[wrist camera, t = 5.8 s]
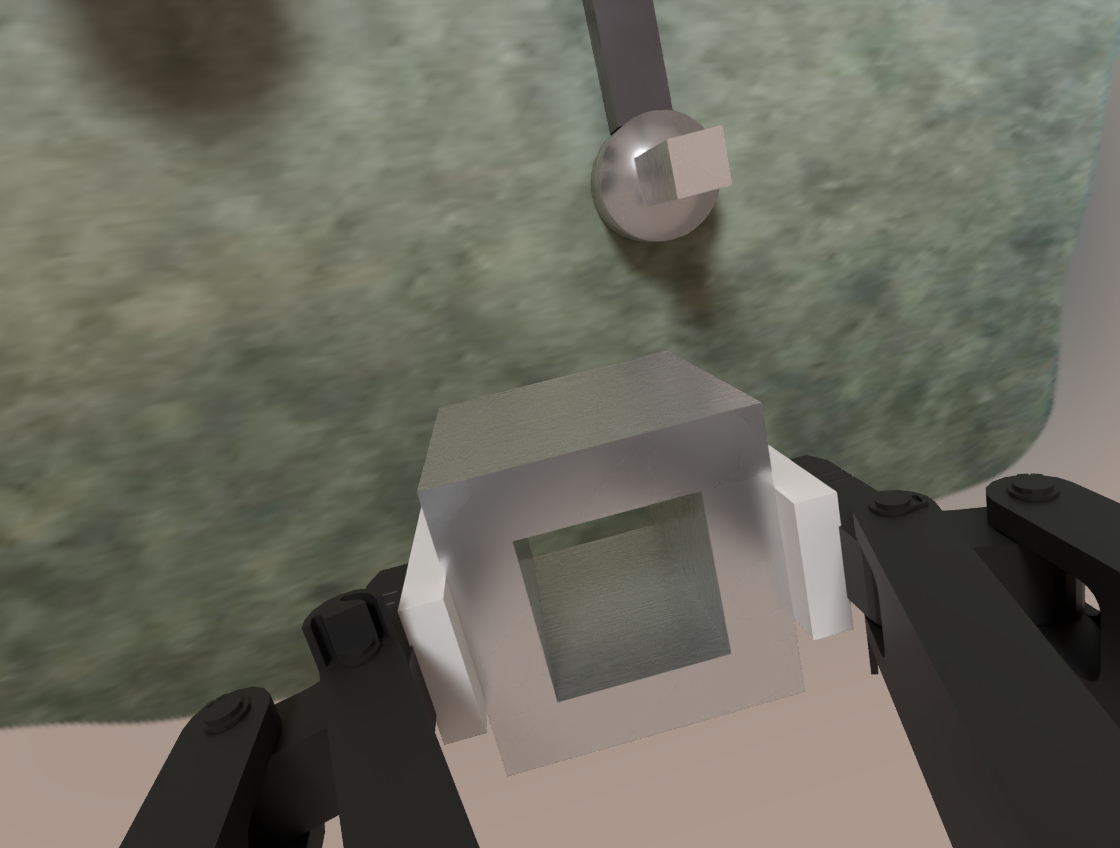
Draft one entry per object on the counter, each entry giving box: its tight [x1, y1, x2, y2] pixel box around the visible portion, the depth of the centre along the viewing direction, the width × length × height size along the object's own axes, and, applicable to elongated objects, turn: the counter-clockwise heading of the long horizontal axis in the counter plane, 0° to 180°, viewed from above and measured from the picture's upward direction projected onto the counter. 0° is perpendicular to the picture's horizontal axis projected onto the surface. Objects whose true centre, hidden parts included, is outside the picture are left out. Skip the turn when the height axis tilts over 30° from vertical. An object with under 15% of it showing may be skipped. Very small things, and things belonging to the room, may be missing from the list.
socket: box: [417, 350, 805, 776], centre depth 15 cm, size 6×6×6 cm
